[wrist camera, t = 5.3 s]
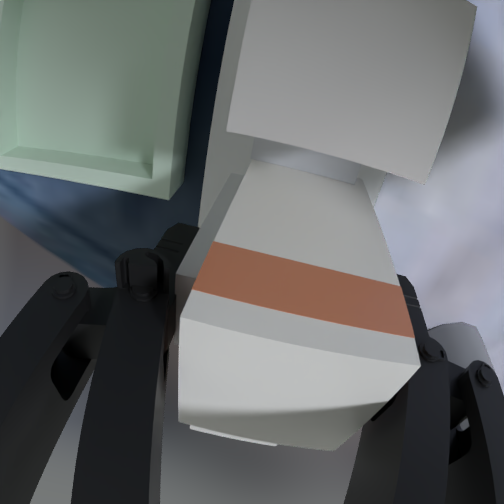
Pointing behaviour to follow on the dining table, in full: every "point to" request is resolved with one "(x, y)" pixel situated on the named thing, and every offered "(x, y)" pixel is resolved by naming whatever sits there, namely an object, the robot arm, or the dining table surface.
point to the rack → (248, 147)
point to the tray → (100, 90)
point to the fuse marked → (294, 315)
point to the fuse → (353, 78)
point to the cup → (461, 346)
